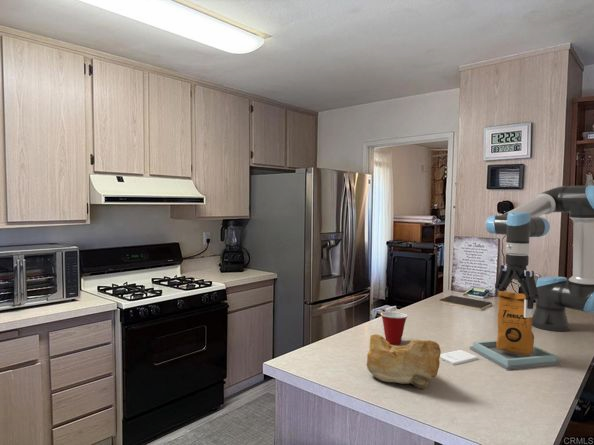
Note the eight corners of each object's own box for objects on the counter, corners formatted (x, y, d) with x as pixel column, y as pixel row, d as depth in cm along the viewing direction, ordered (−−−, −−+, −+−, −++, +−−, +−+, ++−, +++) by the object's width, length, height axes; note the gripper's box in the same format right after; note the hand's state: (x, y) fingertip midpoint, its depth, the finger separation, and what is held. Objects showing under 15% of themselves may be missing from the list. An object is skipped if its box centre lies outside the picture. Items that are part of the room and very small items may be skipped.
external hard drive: (477, 361, 149) (453, 367, 143) (459, 353, 156) (435, 358, 151) (477, 356, 149) (453, 362, 143) (459, 349, 156) (435, 354, 151)
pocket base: (517, 345, 164) (518, 337, 164) (560, 364, 145) (560, 356, 144) (469, 349, 159) (470, 341, 159) (507, 370, 140) (507, 361, 139)
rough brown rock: (451, 382, 132) (452, 335, 132) (435, 397, 118) (436, 345, 119) (384, 366, 145) (385, 324, 146) (363, 379, 132) (364, 332, 132)
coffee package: (531, 359, 144) (533, 297, 142) (493, 351, 151) (494, 292, 150) (536, 350, 151) (537, 292, 150) (499, 343, 159) (501, 287, 158)
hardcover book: (480, 311, 215) (480, 307, 215) (439, 303, 231) (439, 299, 231) (491, 306, 226) (492, 302, 226) (451, 298, 242) (451, 295, 242)
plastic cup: (409, 340, 168) (410, 311, 168) (404, 348, 159) (405, 318, 158) (383, 336, 173) (383, 308, 172) (377, 344, 163) (377, 315, 163)
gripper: (486, 250, 160) (484, 304, 162) (534, 259, 137) (531, 322, 138) (502, 249, 162) (500, 303, 163) (552, 258, 139) (550, 321, 140)
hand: (514, 312), depth 151 cm, fingers closed on coffee package, 12 cm apart
